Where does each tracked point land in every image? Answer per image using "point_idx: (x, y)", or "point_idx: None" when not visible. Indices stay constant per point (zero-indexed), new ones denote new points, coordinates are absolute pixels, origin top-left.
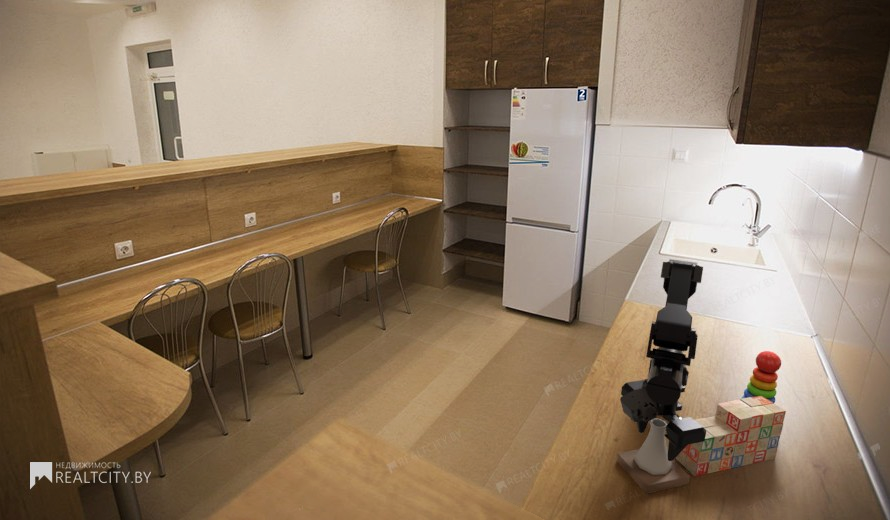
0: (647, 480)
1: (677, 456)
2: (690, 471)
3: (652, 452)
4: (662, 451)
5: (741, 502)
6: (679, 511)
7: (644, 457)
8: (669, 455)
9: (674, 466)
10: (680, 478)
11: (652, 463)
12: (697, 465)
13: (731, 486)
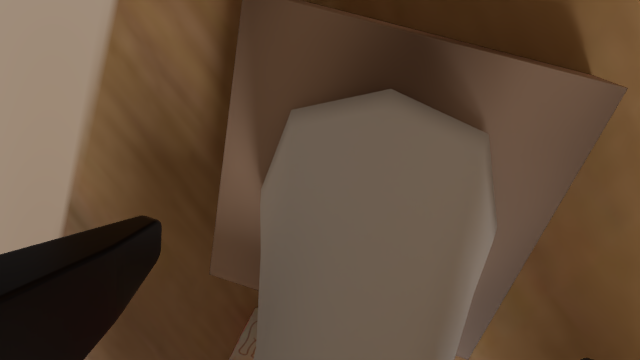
0: (280, 35)
1: None
2: None
3: (315, 209)
4: (261, 279)
5: None
6: (109, 50)
7: (377, 147)
8: (80, 239)
9: None
10: (216, 225)
11: (302, 149)
12: (231, 355)
13: (163, 349)
